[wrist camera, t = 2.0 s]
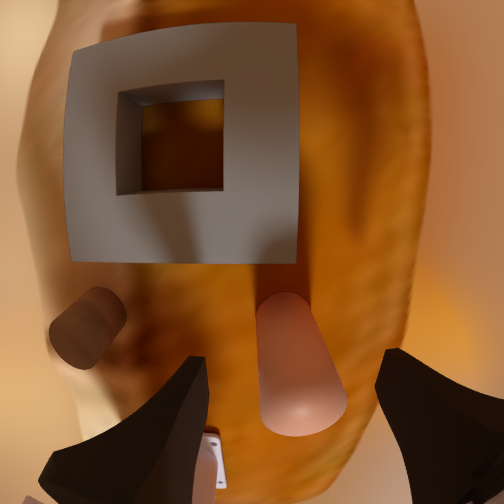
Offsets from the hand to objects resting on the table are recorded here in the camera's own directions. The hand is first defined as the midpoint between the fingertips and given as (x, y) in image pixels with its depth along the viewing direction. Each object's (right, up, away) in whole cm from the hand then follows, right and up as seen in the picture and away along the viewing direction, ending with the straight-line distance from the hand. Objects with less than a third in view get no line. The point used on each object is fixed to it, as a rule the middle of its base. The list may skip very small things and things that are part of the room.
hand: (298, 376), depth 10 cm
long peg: (0, +1, +5) cm, 5 cm away
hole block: (-5, +10, +3) cm, 12 cm away
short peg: (-11, +1, +5) cm, 12 cm away
